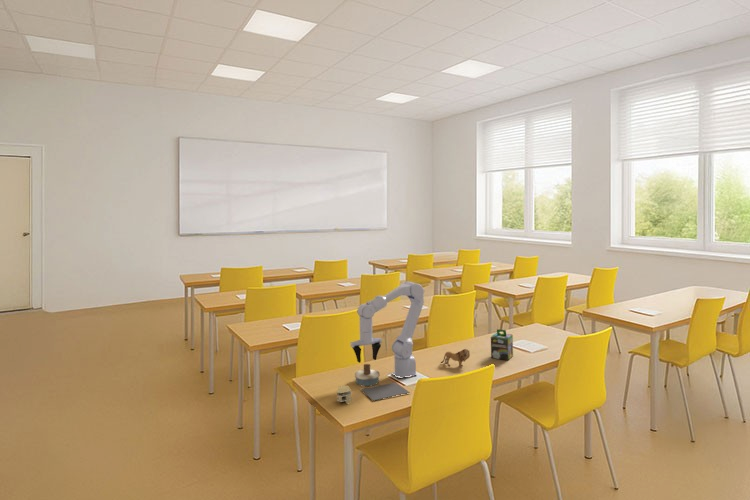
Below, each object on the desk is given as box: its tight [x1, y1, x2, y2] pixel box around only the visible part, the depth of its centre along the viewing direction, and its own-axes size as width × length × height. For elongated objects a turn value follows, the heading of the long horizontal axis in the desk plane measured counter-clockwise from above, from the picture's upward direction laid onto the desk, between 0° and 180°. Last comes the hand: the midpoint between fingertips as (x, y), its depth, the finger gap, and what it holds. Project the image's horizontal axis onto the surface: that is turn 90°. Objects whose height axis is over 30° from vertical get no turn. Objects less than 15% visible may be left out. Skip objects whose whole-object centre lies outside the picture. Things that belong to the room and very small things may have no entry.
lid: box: [354, 363, 381, 380], centre depth 206 cm, size 11×11×5 cm
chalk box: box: [490, 328, 514, 361], centre depth 236 cm, size 9×9×15 cm
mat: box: [360, 382, 411, 402], centre depth 194 cm, size 17×13×1 cm
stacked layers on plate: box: [336, 385, 352, 404], centre depth 185 cm, size 10×9×6 cm
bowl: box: [355, 376, 380, 387], centre depth 206 cm, size 10×10×3 cm
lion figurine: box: [440, 348, 471, 369], centre depth 225 cm, size 15×5×9 cm, turn 67°
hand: (366, 360), depth 205 cm, fingers open, 7 cm apart
